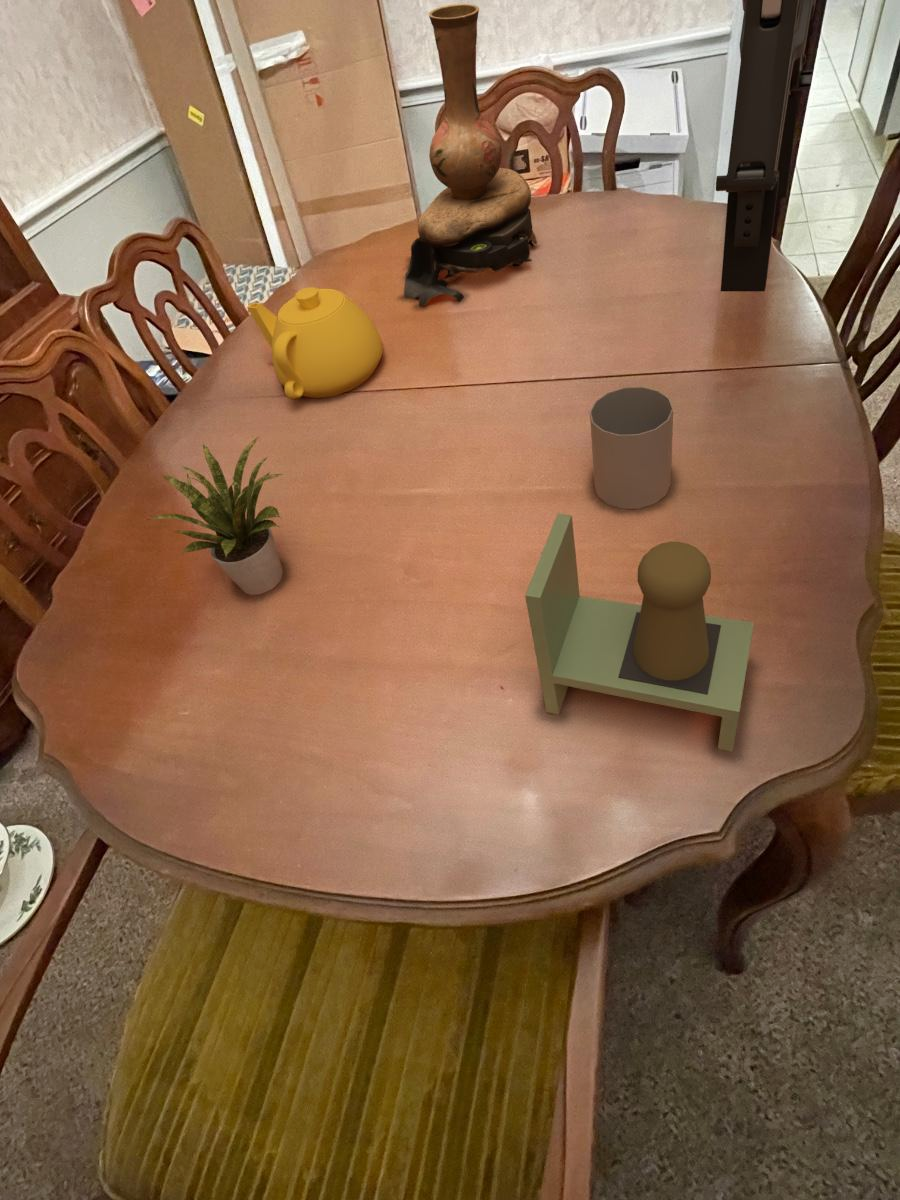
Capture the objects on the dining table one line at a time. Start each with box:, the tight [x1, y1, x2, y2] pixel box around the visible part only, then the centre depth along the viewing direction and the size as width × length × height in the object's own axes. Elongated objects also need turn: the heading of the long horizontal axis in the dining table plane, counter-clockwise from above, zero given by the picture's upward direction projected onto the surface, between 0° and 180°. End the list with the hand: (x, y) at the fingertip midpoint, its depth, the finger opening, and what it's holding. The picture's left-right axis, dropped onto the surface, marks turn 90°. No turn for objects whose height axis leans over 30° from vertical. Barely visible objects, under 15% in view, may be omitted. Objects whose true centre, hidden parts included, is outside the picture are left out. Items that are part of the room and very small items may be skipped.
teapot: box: [246, 286, 384, 400], centre depth 110 cm, size 20×19×13 cm
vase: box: [403, 3, 538, 308], centre depth 116 cm, size 24×22×35 cm
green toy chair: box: [524, 513, 755, 753], centre depth 62 cm, size 16×9×16 cm, turn 69°
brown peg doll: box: [633, 541, 712, 681], centre depth 58 cm, size 6×6×11 cm
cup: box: [589, 386, 674, 510], centre depth 82 cm, size 8×8×10 cm
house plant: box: [147, 435, 285, 596], centre depth 81 cm, size 14×14×16 cm
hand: (755, 239), depth 53 cm, fingers open, 13 cm apart
